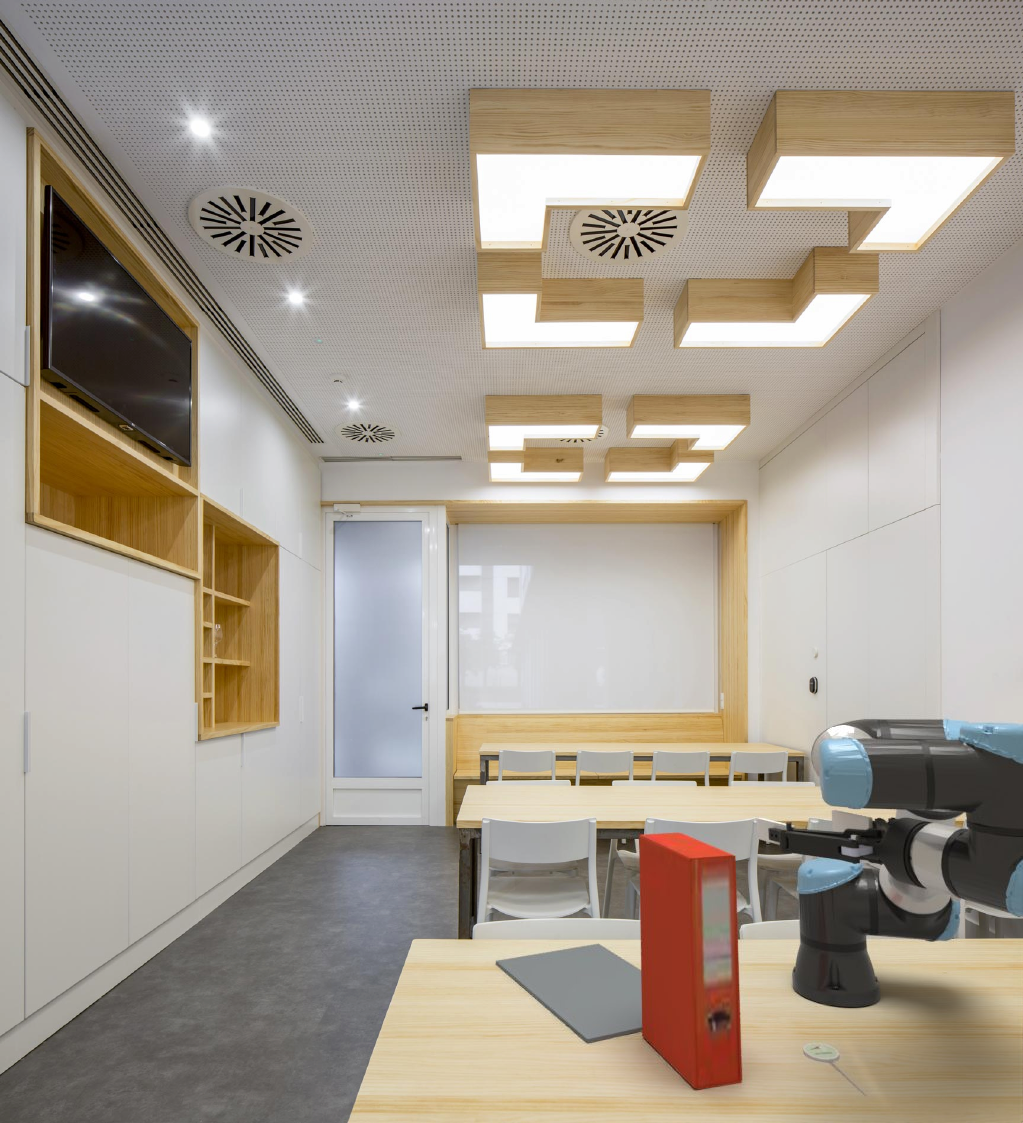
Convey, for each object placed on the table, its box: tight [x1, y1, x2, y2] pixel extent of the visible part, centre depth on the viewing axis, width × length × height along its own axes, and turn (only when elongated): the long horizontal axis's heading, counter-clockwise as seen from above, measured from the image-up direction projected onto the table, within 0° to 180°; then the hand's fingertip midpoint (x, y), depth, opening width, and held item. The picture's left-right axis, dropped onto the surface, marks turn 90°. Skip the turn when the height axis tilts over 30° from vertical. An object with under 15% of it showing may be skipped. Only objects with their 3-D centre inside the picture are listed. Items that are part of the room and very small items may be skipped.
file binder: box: [638, 832, 743, 1091], centre depth 127 cm, size 8×17×32 cm, turn 16°
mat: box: [495, 943, 642, 1044], centre depth 153 cm, size 24×38×1 cm, turn 24°
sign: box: [802, 1042, 867, 1097], centre depth 122 cm, size 5×1×15 cm
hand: (797, 823), depth 113 cm, fingers open, 13 cm apart
